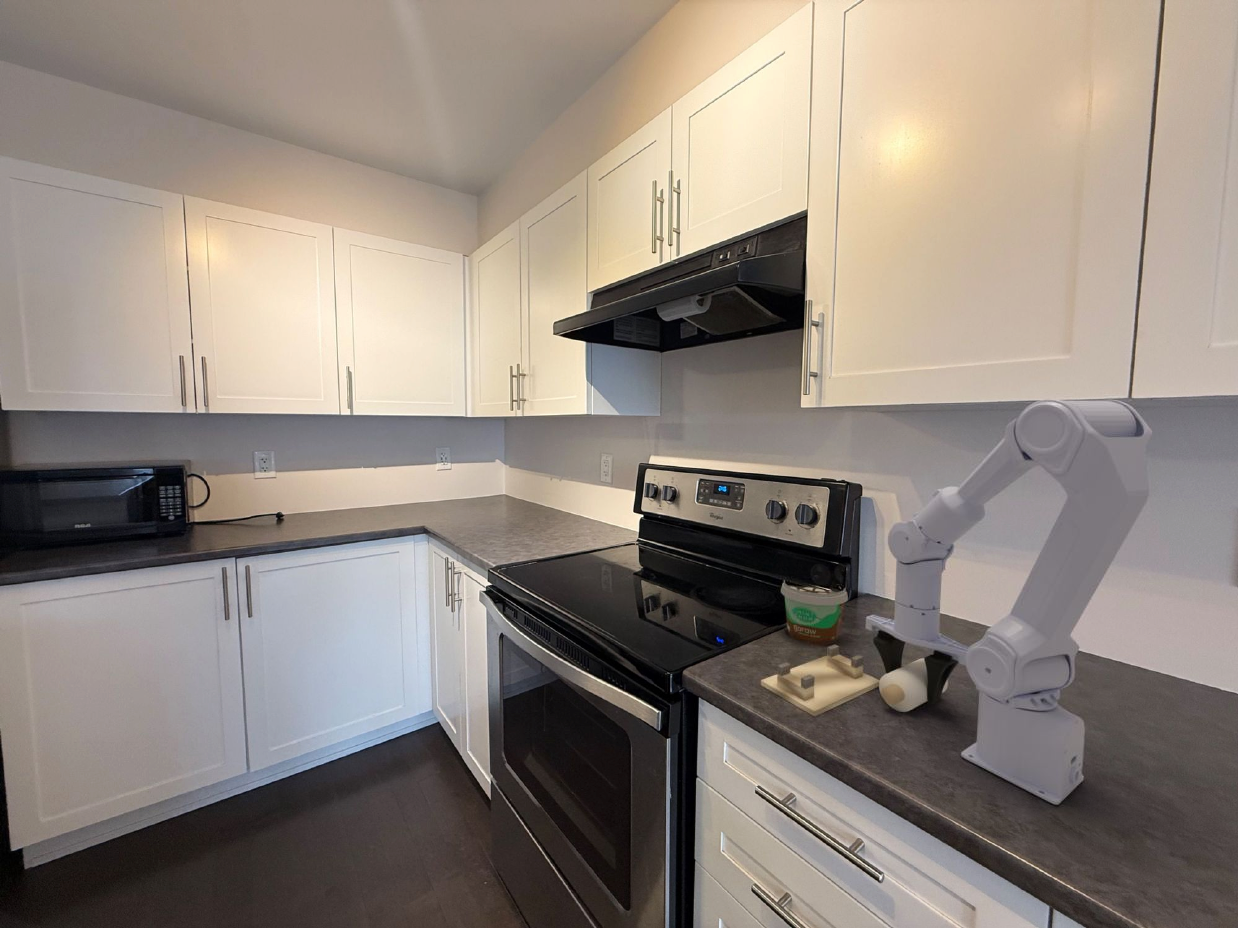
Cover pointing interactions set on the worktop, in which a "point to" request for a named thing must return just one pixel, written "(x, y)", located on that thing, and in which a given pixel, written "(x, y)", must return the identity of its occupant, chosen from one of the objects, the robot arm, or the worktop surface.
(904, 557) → the robot arm
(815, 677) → the cradle
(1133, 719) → the worktop surface
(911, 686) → the white cylinder with cap
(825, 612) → the food container
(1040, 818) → the worktop surface
